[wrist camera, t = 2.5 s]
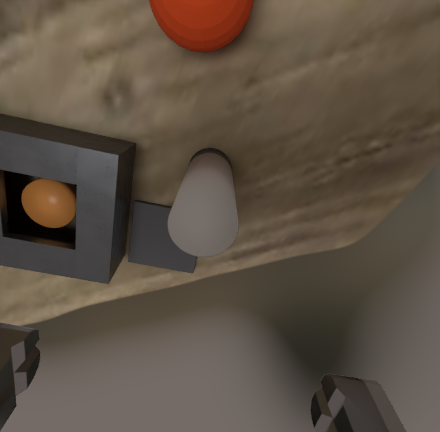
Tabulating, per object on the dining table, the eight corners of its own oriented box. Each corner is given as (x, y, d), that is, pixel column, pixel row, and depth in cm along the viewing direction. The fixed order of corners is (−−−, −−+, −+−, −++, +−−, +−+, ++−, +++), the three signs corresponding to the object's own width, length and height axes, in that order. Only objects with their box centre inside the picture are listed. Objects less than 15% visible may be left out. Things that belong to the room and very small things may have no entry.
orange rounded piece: (82, 180, 26) (74, 186, 25) (81, 224, 28) (74, 232, 26) (30, 170, 26) (20, 175, 24) (33, 215, 27) (23, 222, 26)
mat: (205, 213, 29) (205, 215, 29) (193, 271, 32) (193, 273, 32) (135, 200, 29) (134, 201, 28) (129, 259, 32) (128, 261, 31)
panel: (136, 143, 27) (114, 158, 21) (124, 254, 31) (104, 291, 26) (-77, 97, 25) (-161, 101, 20) (-55, 222, 30) (-117, 253, 24)
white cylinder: (235, 153, 27) (246, 201, 16) (226, 193, 29) (229, 262, 18) (192, 144, 27) (173, 186, 16) (185, 185, 28) (163, 249, 17)
